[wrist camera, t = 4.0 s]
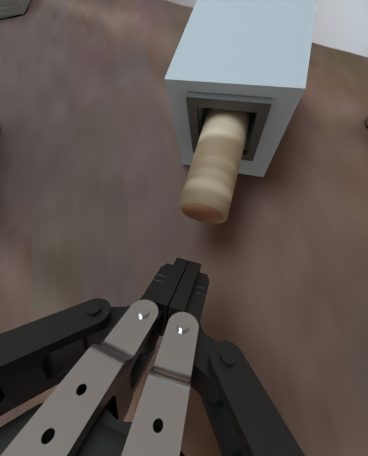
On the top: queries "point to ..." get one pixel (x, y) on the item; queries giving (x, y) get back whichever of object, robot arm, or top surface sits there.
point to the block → (241, 71)
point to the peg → (215, 166)
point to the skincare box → (12, 7)
